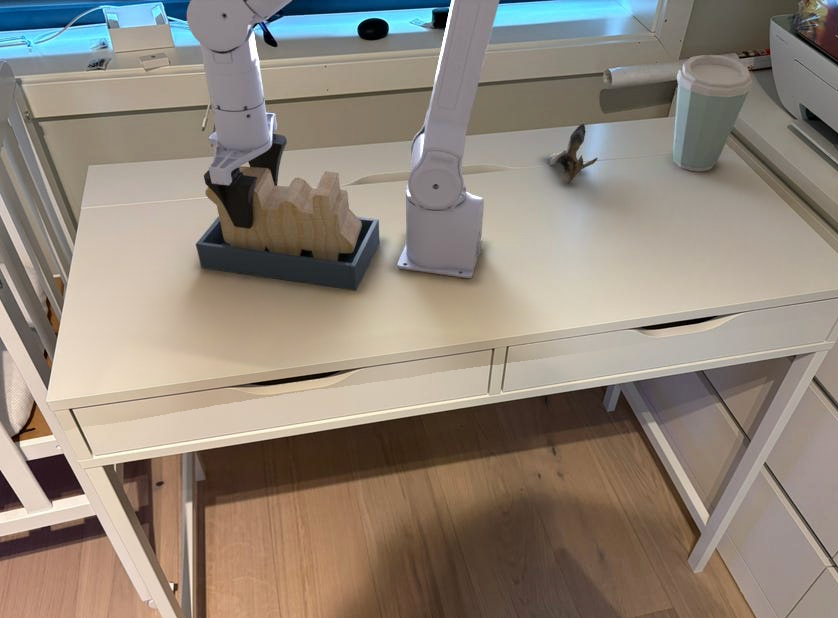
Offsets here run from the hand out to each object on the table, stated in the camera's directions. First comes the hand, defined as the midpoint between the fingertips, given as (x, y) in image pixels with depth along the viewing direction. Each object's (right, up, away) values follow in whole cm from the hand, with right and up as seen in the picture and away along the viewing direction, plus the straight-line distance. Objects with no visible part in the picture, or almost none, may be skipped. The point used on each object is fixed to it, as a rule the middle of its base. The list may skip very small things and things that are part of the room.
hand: (255, 209), depth 88 cm
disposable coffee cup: (+62, +13, +26) cm, 68 cm away
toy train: (+4, -5, +3) cm, 7 cm away
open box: (+4, -5, +4) cm, 7 cm away
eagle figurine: (+42, +10, +22) cm, 48 cm away
